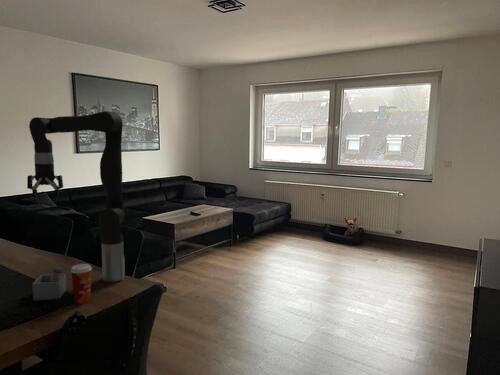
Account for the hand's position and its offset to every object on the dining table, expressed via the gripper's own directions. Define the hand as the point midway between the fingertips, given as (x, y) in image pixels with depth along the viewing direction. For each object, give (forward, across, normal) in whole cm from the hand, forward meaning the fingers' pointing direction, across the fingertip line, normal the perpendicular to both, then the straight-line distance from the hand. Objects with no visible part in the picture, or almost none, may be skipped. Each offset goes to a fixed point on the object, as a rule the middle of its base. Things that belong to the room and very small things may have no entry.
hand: (46, 198), depth 167 cm
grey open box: (+36, +8, -25) cm, 45 cm away
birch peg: (+35, +8, -25) cm, 44 cm away
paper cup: (+36, +22, -32) cm, 53 cm away
